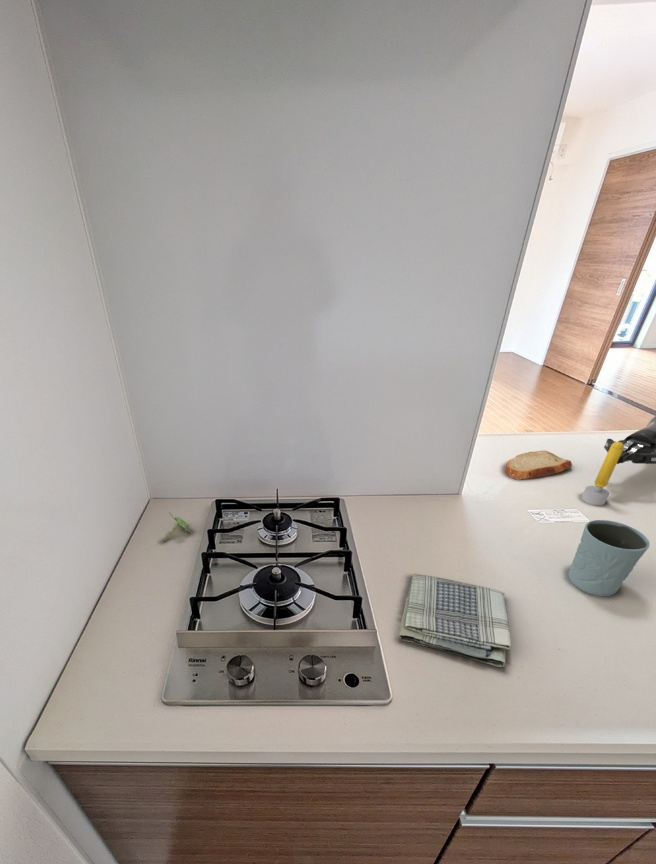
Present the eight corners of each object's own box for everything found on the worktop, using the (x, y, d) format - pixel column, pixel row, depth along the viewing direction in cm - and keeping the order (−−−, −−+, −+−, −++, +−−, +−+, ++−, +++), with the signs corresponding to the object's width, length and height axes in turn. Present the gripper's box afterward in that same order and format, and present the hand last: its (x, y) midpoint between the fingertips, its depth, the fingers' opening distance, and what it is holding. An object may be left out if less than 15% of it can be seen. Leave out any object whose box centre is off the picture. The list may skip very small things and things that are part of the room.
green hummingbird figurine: (175, 551, 107) (191, 530, 109) (177, 551, 100) (194, 528, 101) (151, 533, 106) (168, 512, 108) (151, 532, 99) (169, 509, 100)
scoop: (603, 497, 115) (630, 440, 106) (605, 507, 111) (634, 448, 102) (580, 493, 117) (605, 436, 108) (582, 502, 113) (607, 444, 104)
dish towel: (409, 576, 91) (411, 564, 89) (503, 597, 85) (507, 585, 84) (396, 643, 77) (399, 630, 75) (508, 674, 71) (514, 661, 69)
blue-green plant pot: (557, 581, 89) (578, 534, 82) (572, 558, 95) (593, 513, 88) (615, 607, 83) (644, 558, 76) (627, 580, 89) (655, 533, 82)
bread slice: (504, 478, 125) (508, 466, 123) (503, 452, 139) (506, 441, 137) (576, 489, 119) (581, 477, 117) (567, 461, 133) (572, 450, 131)
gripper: (624, 422, 120) (593, 437, 112) (682, 437, 111) (653, 455, 103) (612, 447, 124) (582, 463, 116) (668, 464, 115) (639, 483, 107)
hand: (616, 459), depth 110 cm, fingers closed
